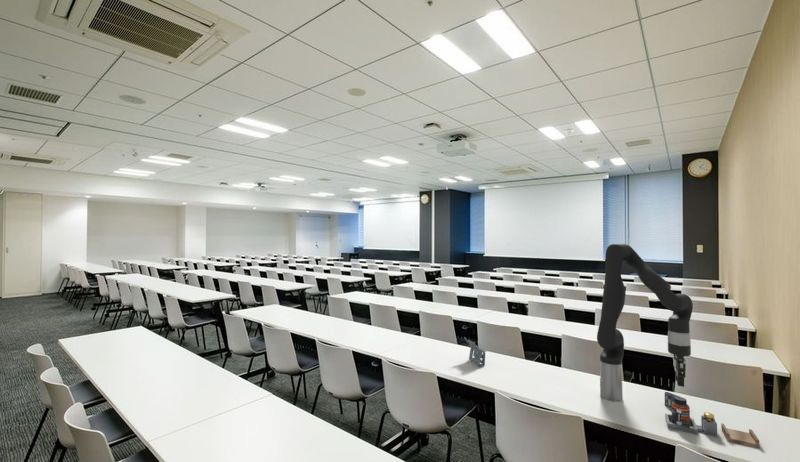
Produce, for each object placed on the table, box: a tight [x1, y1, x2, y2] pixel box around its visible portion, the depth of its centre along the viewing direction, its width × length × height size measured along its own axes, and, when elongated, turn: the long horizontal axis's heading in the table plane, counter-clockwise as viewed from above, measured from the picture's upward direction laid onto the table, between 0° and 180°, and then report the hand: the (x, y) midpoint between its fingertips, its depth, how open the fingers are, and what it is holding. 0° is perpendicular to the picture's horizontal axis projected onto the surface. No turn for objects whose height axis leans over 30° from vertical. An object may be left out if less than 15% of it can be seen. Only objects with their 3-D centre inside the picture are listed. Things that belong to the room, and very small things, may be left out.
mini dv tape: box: [664, 391, 681, 409], centre depth 163 cm, size 8×2×6 cm, turn 21°
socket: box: [664, 413, 718, 438], centre depth 146 cm, size 16×10×5 cm, turn 58°
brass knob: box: [703, 411, 715, 421], centre depth 143 cm, size 3×3×6 cm
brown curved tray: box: [720, 423, 761, 449], centre depth 138 cm, size 9×9×3 cm
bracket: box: [463, 336, 487, 367], centre depth 223 cm, size 13×10×15 cm
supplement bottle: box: [671, 395, 691, 427], centre depth 148 cm, size 6×6×11 cm
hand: (679, 383), depth 148 cm, fingers open, 5 cm apart
